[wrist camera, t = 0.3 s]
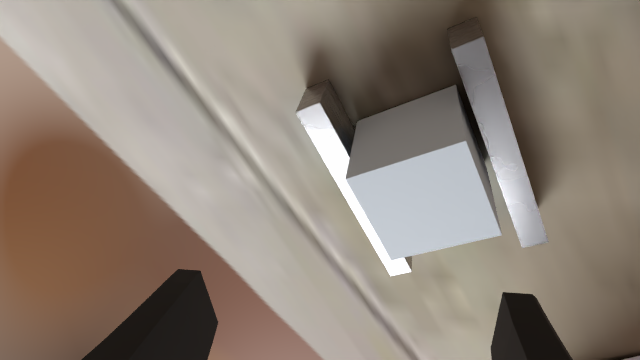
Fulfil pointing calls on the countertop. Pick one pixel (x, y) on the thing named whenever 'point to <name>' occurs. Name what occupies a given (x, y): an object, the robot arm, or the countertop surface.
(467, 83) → the grey flat bars
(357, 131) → the block
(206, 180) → the countertop surface
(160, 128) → the countertop surface
